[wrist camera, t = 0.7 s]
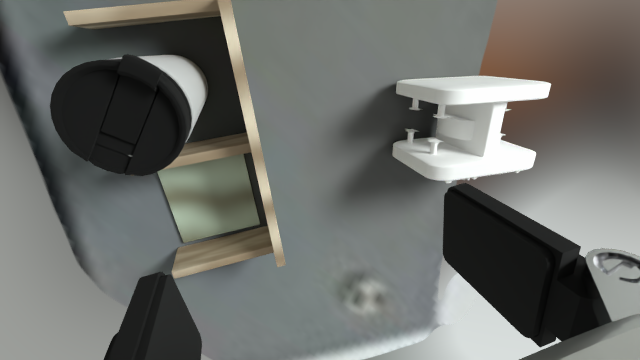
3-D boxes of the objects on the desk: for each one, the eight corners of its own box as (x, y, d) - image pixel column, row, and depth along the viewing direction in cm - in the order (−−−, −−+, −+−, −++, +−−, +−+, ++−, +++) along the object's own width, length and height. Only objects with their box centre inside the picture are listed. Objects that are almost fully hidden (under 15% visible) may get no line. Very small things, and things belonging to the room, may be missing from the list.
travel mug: (219, 71, 33) (208, 93, 16) (195, 124, 35) (160, 200, 17) (159, 39, 31) (65, 22, 13) (136, 97, 32) (23, 155, 14)
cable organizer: (485, 73, 43) (567, 81, 32) (472, 146, 47) (541, 172, 37) (389, 78, 39) (447, 88, 29) (384, 156, 43) (432, 189, 33)
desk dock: (88, 17, 29) (43, 6, 22) (228, 4, 31) (228, -10, 24) (180, 253, 40) (170, 296, 33) (276, 229, 43) (285, 264, 36)
